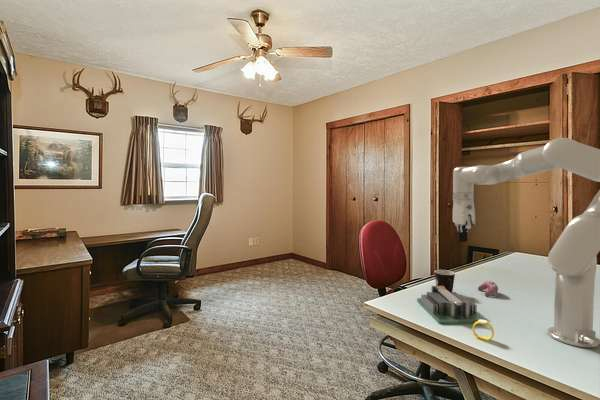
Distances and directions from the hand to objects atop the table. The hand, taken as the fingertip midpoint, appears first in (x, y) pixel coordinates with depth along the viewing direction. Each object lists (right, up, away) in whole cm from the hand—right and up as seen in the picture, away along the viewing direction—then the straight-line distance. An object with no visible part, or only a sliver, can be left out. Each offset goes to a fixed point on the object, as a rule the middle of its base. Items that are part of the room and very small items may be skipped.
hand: (462, 241), depth 129 cm
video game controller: (+20, -27, +16) cm, 37 cm away
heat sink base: (-8, -27, -5) cm, 29 cm away
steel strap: (-8, -22, -5) cm, 23 cm away
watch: (-7, -29, -27) cm, 40 cm away
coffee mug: (-1, -27, +15) cm, 31 cm away
